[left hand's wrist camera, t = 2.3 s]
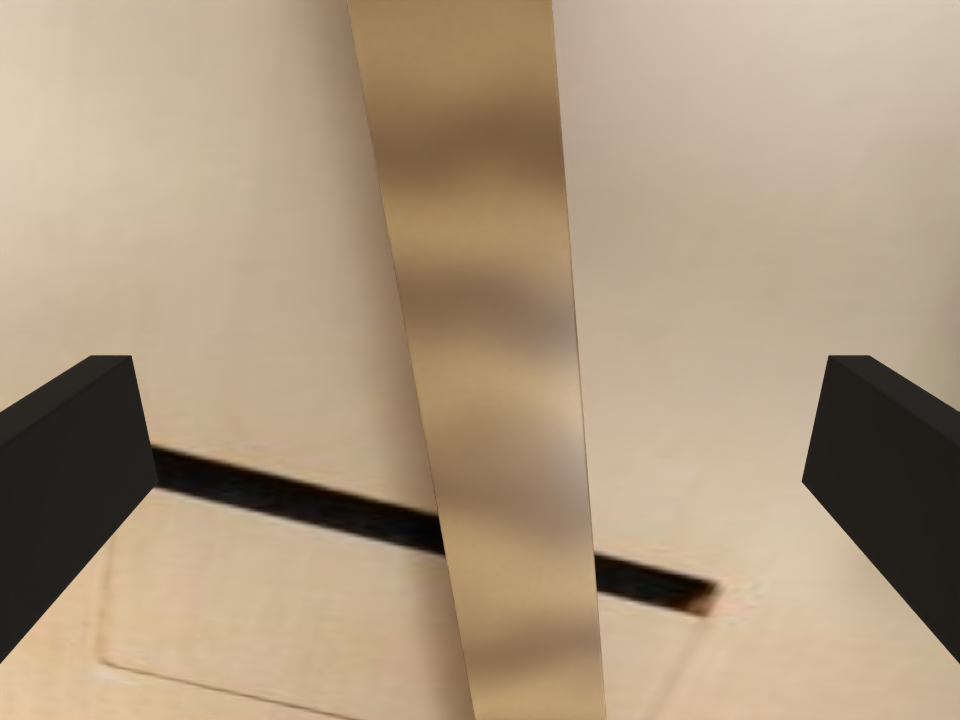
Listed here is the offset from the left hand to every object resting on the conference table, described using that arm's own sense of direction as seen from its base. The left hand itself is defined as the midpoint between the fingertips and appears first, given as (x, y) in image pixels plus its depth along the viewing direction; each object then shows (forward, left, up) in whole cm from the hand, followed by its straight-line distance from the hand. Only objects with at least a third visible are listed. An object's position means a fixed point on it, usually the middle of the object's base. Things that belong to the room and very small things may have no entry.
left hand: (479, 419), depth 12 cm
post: (+9, +17, -17) cm, 25 cm away
